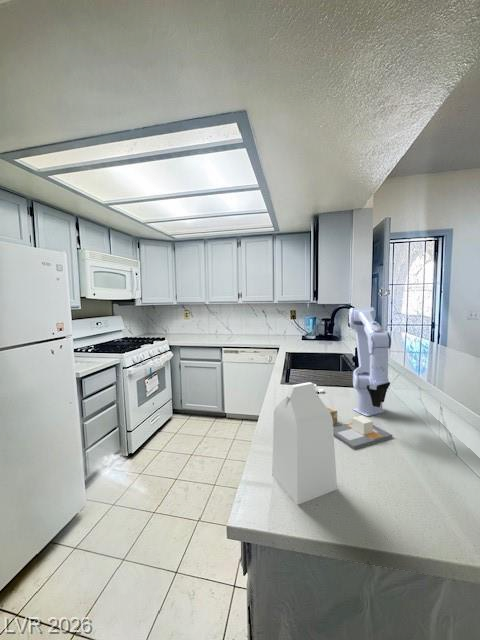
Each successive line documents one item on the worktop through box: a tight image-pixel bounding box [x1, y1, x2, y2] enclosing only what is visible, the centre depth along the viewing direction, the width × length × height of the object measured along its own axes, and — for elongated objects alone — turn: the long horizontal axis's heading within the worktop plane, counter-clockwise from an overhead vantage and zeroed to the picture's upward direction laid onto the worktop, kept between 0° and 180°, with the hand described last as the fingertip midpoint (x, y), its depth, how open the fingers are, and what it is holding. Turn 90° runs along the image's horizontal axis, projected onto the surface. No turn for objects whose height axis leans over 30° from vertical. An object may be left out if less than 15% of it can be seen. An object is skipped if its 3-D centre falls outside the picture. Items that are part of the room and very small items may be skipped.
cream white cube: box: [352, 415, 374, 435], centre depth 93 cm, size 4×5×4 cm
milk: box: [271, 381, 338, 506], centre depth 69 cm, size 12×12×26 cm
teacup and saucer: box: [313, 383, 325, 393], centre depth 136 cm, size 9×8×4 cm
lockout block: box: [326, 406, 338, 425], centre depth 102 cm, size 4×4×5 cm
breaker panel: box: [333, 422, 393, 450], centre depth 92 cm, size 17×12×1 cm
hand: (378, 403), depth 95 cm, fingers open, 5 cm apart
